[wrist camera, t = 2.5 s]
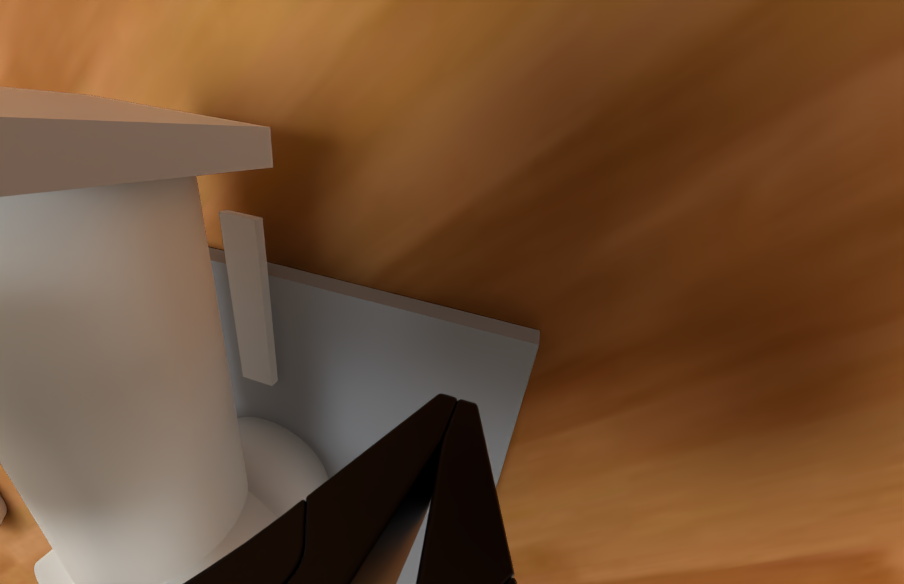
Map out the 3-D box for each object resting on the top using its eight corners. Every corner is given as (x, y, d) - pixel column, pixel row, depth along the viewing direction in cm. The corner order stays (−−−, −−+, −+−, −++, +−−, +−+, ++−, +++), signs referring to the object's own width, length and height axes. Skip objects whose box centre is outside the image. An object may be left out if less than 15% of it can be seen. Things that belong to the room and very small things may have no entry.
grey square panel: (452, 626, 18) (433, 719, 15) (138, 498, 21) (75, 553, 18) (556, 273, 9) (559, 333, 7) (4, 150, 13) (-153, 154, 10)
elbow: (320, 575, 14) (223, 762, 10) (190, 522, 15) (51, 669, 11) (304, 133, 7) (-64, 125, 3) (60, 89, 8) (-471, 38, 4)
